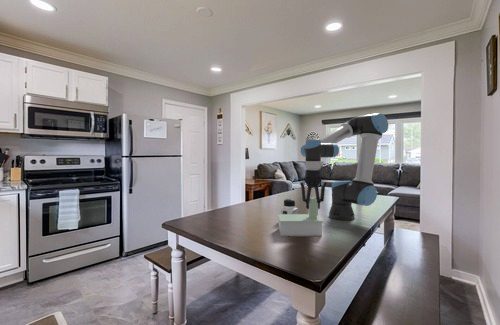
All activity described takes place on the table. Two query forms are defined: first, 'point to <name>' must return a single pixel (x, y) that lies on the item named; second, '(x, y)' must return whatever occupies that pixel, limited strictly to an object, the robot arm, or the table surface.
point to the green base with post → (302, 215)
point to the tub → (300, 229)
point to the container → (289, 207)
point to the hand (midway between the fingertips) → (312, 215)
